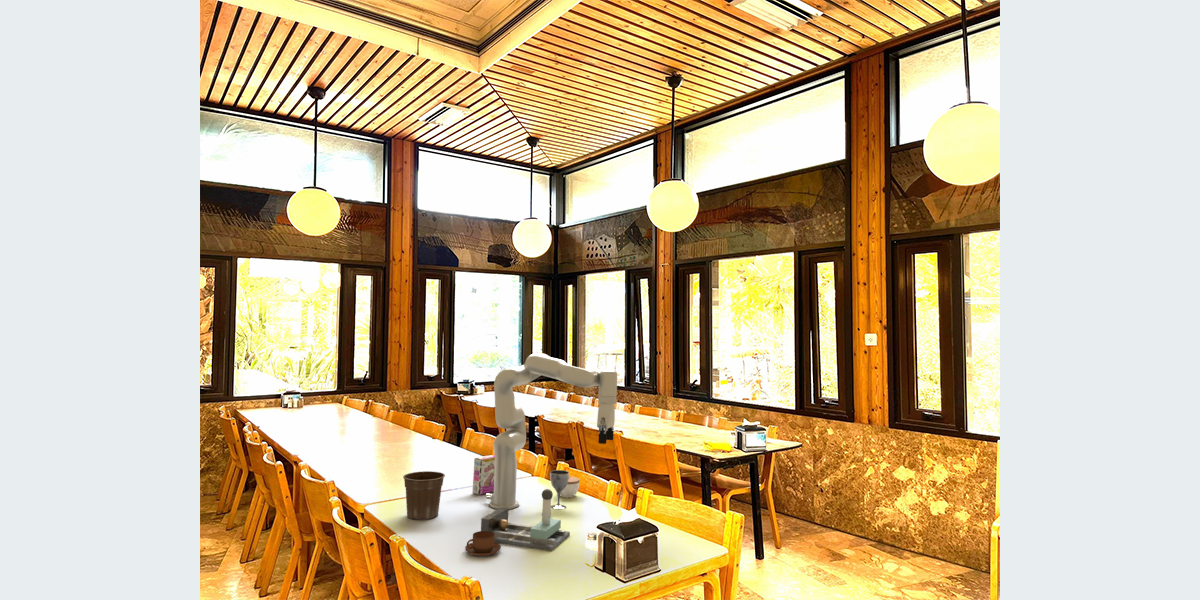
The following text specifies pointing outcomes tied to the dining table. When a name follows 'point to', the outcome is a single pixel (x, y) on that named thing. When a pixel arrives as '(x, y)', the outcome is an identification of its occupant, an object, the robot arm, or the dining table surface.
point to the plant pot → (423, 494)
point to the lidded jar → (571, 487)
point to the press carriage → (545, 519)
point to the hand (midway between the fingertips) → (605, 441)
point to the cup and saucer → (482, 544)
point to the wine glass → (559, 484)
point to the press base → (518, 532)
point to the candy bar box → (483, 475)
